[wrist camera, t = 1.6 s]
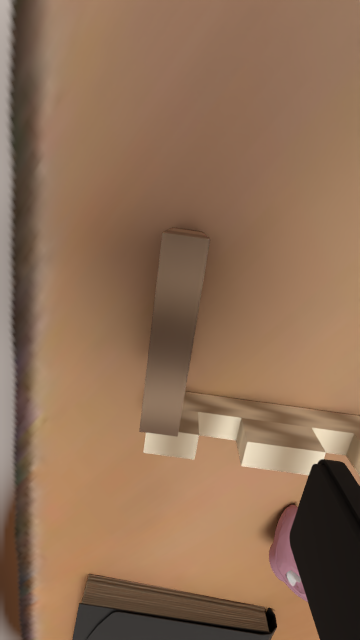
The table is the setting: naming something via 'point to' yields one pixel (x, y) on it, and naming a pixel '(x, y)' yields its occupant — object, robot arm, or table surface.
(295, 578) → the video game controller
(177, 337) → the walnut plate
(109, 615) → the file folder
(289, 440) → the wooden crenellated block
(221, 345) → the table surface
